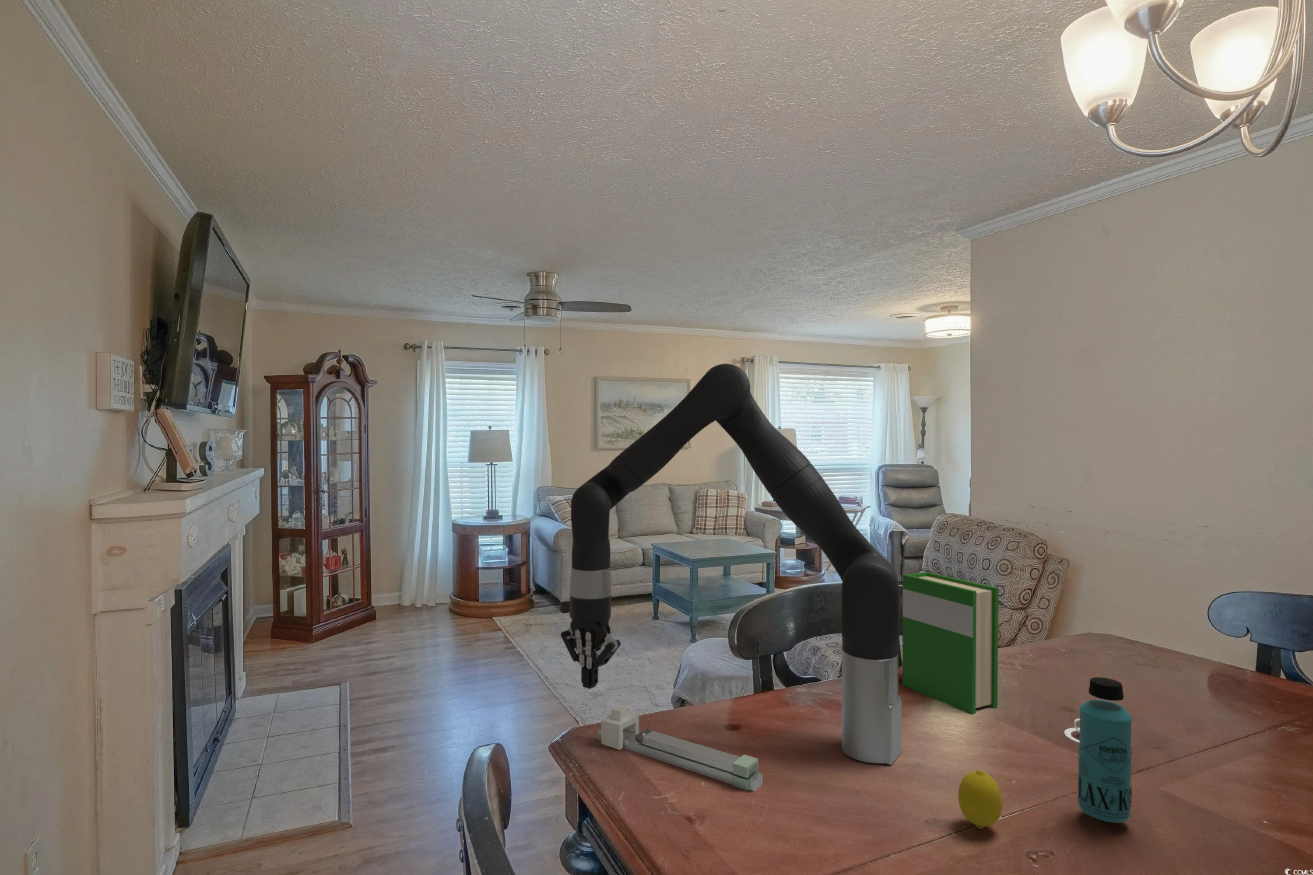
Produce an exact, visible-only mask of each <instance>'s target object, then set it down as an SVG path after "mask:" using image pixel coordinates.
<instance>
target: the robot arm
mask: <svg viewBox="0 0 1313 875" xmlns="http://www.w3.org/2000/svg"><path fill="white" fill-rule="evenodd" d="M714 422H716V423H717V424H718V425H719V426H720V427H721V428H722V429H723V430H724V431H725V432H726V433H727V434H728V436H729V437H730V438H731V439H732V440H733V441H734V442H735V443H736V445H737V446H738V447H739V449H740V450H741V452H742V453H743V455H744V456H745V458H746V461H748V463H749V464H750V467H751V468H752V470H753V472H754V473H755V475H756V476H757V478H758V480H759V481H760V482H761V483H762V485H763V487H764V488H765V490H766V491H767V493H768V494H769V495H770V496H771V498H772V499H773V501H774V502H775V503H776V504H777V506H778V508H780V509H781V511H782V512H783V513H784V515H785V516H786V517H787V518H788V519H789V520H790V521H791V522H792V523H793V524H794V525H795V526H796V527H797V528H798V529H800V531H802V533H804V535H806V536H807V537H809V538H810V540H811V541H813V542H814V543H815V544H816V546H818V547H819V549H820V550H821V551H822V552H823V554H824V555H825V556H826V557H827V559H828V561H829V562H830V564H831V565H832V567H833V568H834V570H835V572H836V573H837V574H838V576H839V578H840V580H841V644H842V645H841V646H842V648H841V654H842V655H841V658H842V659H841V664H842V665H841V737H840V738H841V750H842V751H843V754H845V755H847V756H848V757H849V758H851V759H853V760H857V761H860V762H863V763H869V764H885V765H892V764H893V763H895V761H896V760H897V758H898V757H899V756H900V754H901V753H902V741H903V739H902V738H903V737H902V734H903V732H902V729H903V727H902V726H903V725H902V723H903V722H902V720H903V718H902V715H903V708H902V707H903V706H902V705H903V702H902V701H903V698H902V696H900V695H899V647H900V646H899V644H900V643H899V642H900V584H899V576H898V574H897V572H896V570H895V568H894V567H893V565H892V564H891V563H890V562H889V561H888V560H887V558H885V557H884V556H883V555H882V554H881V553H880V552H879V551H878V550H877V549H876V548H875V547H874V546H873V544H871V543H870V542H869V540H867V538H866V537H865V536H864V535H863V534H862V533H861V532H860V531H859V529H858V528H857V527H856V526H855V524H854V523H853V521H852V519H851V518H850V517H849V516H848V514H847V512H846V510H845V509H844V507H843V506H842V503H840V501H839V500H838V498H837V496H836V495H835V494H834V492H833V490H832V489H831V488H830V487H829V485H828V484H827V482H826V481H825V480H824V478H823V477H822V475H821V474H820V473H819V472H818V470H817V469H816V467H815V466H814V465H813V464H812V463H811V461H810V460H809V459H808V458H807V457H806V455H805V454H804V453H803V452H802V451H801V449H799V448H798V447H797V446H796V445H794V444H793V442H791V441H790V440H789V438H787V437H785V435H783V434H782V433H781V432H780V431H779V430H778V429H777V428H776V427H775V426H774V425H773V424H772V423H771V422H770V420H769V419H768V418H767V416H766V415H765V414H764V412H763V411H762V409H761V407H760V406H759V405H758V403H757V401H756V400H755V398H754V396H753V394H752V393H751V383H750V379H749V376H748V375H747V373H746V372H745V371H744V370H743V369H742V368H741V367H739V366H737V365H735V364H732V363H721V364H716V365H714V366H712V367H711V368H709V369H708V370H707V371H706V372H705V374H704V375H703V376H702V377H701V378H700V379H699V381H698V382H696V384H695V385H694V386H693V388H691V390H690V391H689V392H688V393H687V394H686V396H685V397H684V398H683V399H682V400H680V401H679V403H678V404H677V405H675V407H674V408H673V409H671V411H670V412H668V414H666V415H665V416H664V417H663V418H661V419H660V420H659V421H658V422H657V423H656V424H654V425H653V426H652V427H650V428H649V429H648V430H647V431H646V432H644V433H643V434H642V435H641V436H640V437H638V438H637V439H636V440H634V442H632V443H631V444H630V445H629V446H627V447H626V448H625V449H624V450H623V451H621V452H620V453H619V454H618V455H616V456H615V458H613V459H612V461H611V462H610V463H609V464H608V465H607V466H605V467H604V468H603V469H602V470H600V471H599V472H597V473H596V474H595V475H593V476H592V477H591V478H589V479H588V480H587V481H585V482H584V483H583V484H581V485H580V486H578V488H577V489H576V490H575V491H574V493H573V494H572V496H571V500H570V523H571V524H570V525H571V532H572V533H571V534H572V545H571V572H570V578H569V617H570V619H571V622H570V623H569V624H570V625H569V627H568V628H567V630H566V629H565V630H564V631H561V632H560V637H561V639H562V642H563V644H564V646H565V647H566V649H567V651H568V653H569V655H570V657H571V659H572V661H573V662H578V663H579V666H580V667H581V668H580V669H581V672H580V674H581V676H580V680H581V684H582V687H583V688H585V689H588V690H590V689H593V688H596V686H597V685H598V684H599V668H600V667H603V666H605V665H606V664H608V663H609V661H610V660H611V659H612V657H613V656H614V655H615V653H616V652H617V650H618V649H619V648H620V647H621V641H620V640H619V639H615V637H613V636H612V635H611V633H612V631H611V627H610V623H609V622H610V619H611V616H612V575H611V574H612V573H611V541H610V538H609V533H610V512H611V510H612V509H613V508H614V507H615V506H616V505H618V504H619V503H620V502H621V501H622V500H623V499H624V498H625V497H627V495H629V494H631V493H633V492H634V491H636V490H638V489H640V487H642V486H643V485H644V484H646V483H647V482H648V481H649V480H651V479H652V478H653V477H654V476H655V475H656V474H658V473H659V472H660V471H661V470H662V469H663V468H664V467H665V466H667V464H668V463H669V462H670V461H671V460H672V459H673V458H674V457H675V456H676V455H677V454H678V453H679V452H680V451H681V450H682V449H683V448H684V447H685V446H686V445H687V443H689V441H691V439H693V438H694V437H695V436H696V435H697V434H698V433H699V434H700V432H701V431H702V430H704V429H705V428H706V427H708V426H709V425H711V424H713V423H714Z"/></svg>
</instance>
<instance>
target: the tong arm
mask: <svg viewBox="0 0 1313 875" xmlns="http://www.w3.org/2000/svg"><path fill="white" fill-rule="evenodd" d="M643 744H644V745H648V746H651V747H654V748H657V749H660V750H663V751H667V752H670V753H673V754H676V755H679V756H682V757H686V758H689V759H692V760H695V761H698V762H701V763H704V764H708V765H711V766H714V767H717V768H720V769H723V770H727V771H730V772H733V774H736V775H739V776H742V777H745V778H748V777H749V776H750V775H751V774H753V773H754V772H755V771H756V770H757V771H758V770H759V758H757V757H754V756H750V755H747V754H743V755H741V756H739V755H735V754H732V753H728V752H724V751H722V750H718V749H716V748H712V747H709V746H706V745H702V744H698V743H696V742H691V741H690V740H684V739H681V738H678V737H674V736H672V735H668V734H665V733H663V732H662V733H661V732H659V731H655V730H651V732H650V733H648V734H647V735H645V736H643Z"/></svg>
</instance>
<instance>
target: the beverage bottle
mask: <svg viewBox="0 0 1313 875" xmlns="http://www.w3.org/2000/svg"><path fill="white" fill-rule="evenodd" d="M1088 693H1089V695H1091V696H1092V697H1095V699H1094V698H1093V699H1090V700H1087V701H1085V702H1084V703H1083V704H1081V705H1080V706H1079V719H1080V721H1079V728H1080V733H1079V739H1078V740H1079V743H1078V744H1079V746H1078V751H1077V753H1078V756H1077V767H1078V772H1077V774H1076V775H1077V780H1078V781H1077V788H1078V789H1077V797H1076V802H1077V804H1078V807H1079V809H1080V810H1081V811H1082V812H1083V813H1085V814H1086V815H1087V816H1090V817H1091V818H1095V819H1097V820H1099V821H1104V822H1109V823H1118V824H1119V823H1125V822H1127V821H1128V820H1129V818H1130V816H1131V815H1132V796H1133V795H1132V793H1133V792H1132V791H1133V789H1132V788H1133V787H1132V786H1133V785H1132V783H1131V781H1132V775H1133V774H1132V755H1133V749H1132V721H1133V717H1132V715H1131V714H1130V712H1129V711H1128V710H1127V709H1125V707H1123V706H1122V705H1121V704H1119V703H1117V702H1118V701H1122V700H1124V690H1123V684H1122V683H1121V682H1120V681H1118V680H1115V679H1112V678H1108V677H1101V676H1100V677H1099V676H1098V677H1097V676H1096V677H1092V678H1090V680H1089V686H1088ZM1113 701H1114V702H1113ZM1115 701H1117V702H1115Z"/></svg>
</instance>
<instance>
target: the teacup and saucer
mask: <svg viewBox="0 0 1313 875" xmlns="http://www.w3.org/2000/svg"><path fill="white" fill-rule="evenodd" d="M1077 722H1080V718H1076V719H1074V721H1073V725H1074V727H1070V728H1067V729H1065V730H1064V732H1063V733H1064V735H1065V736H1066V738H1068V739H1070V740H1071V741H1073V742H1076V743H1078V744H1079V739H1077V738H1075V737H1073V735H1072V733H1073V732H1078V734H1080V727H1077Z"/></svg>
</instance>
